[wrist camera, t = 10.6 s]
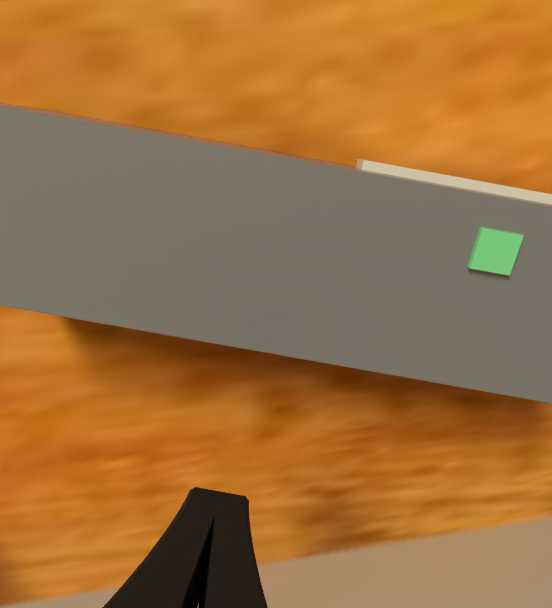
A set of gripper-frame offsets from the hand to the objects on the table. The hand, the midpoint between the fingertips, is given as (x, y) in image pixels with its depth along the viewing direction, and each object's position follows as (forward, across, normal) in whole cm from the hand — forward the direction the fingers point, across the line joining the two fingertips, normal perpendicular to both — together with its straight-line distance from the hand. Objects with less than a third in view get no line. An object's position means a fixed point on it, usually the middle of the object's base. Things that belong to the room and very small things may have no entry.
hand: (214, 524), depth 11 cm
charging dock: (+9, 0, -6) cm, 11 cm away
